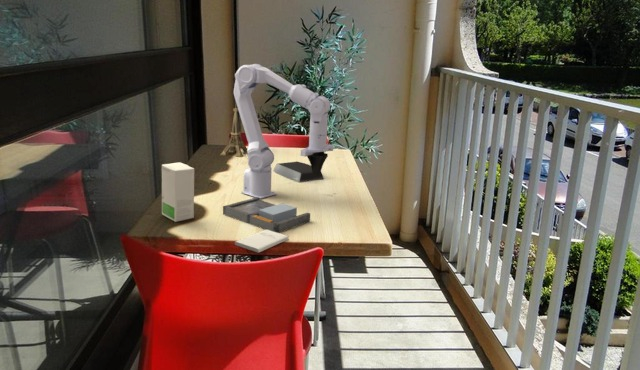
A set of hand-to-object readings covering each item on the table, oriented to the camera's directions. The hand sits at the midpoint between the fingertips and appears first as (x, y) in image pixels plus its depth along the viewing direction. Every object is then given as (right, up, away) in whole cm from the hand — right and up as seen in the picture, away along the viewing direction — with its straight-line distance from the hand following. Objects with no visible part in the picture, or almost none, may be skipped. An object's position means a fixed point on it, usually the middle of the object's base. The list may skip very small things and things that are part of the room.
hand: (316, 174), depth 178 cm
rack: (-15, -13, -15) cm, 25 cm away
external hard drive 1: (-14, -19, -34) cm, 42 cm away
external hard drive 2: (-8, 0, +36) cm, 37 cm away
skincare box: (-41, -13, -18) cm, 47 cm away
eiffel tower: (-38, +11, +68) cm, 78 cm away
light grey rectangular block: (-11, -14, -17) cm, 25 cm away
